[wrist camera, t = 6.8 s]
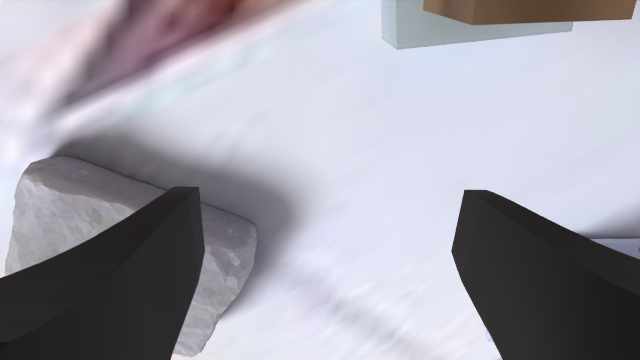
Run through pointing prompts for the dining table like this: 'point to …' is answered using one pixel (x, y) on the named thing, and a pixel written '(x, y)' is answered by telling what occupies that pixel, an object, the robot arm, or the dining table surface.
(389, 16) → the grey-blue block
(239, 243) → the stone block
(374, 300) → the dining table surface
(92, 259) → the robot arm
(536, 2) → the walnut block
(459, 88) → the dining table surface
